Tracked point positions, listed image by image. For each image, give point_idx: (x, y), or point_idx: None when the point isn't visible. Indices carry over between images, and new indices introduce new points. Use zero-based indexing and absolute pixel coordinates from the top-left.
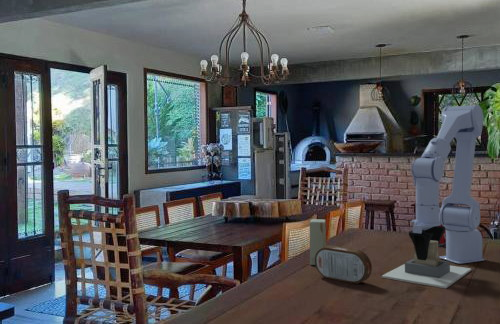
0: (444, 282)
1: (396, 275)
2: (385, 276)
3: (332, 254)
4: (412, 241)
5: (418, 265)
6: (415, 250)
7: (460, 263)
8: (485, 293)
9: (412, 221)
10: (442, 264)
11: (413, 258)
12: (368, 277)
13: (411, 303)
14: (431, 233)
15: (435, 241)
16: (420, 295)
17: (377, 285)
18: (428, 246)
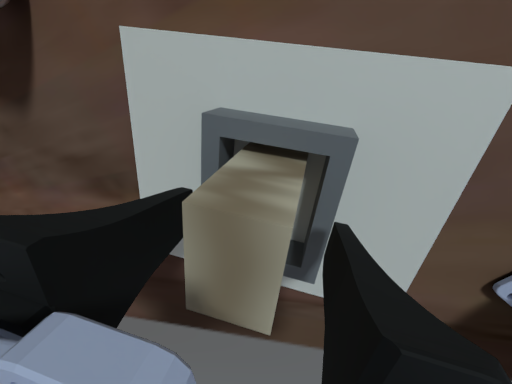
0: (178, 244)
1: (159, 87)
2: (122, 46)
3: None
4: (77, 212)
5: (201, 178)
6: (145, 198)
7: (496, 292)
8: (170, 311)
9: (11, 360)
10: None
11: (320, 132)
12: (3, 4)
13: (8, 185)
14: (343, 351)
15: (252, 321)
16: (63, 195)
17: (41, 55)
18: (146, 277)
